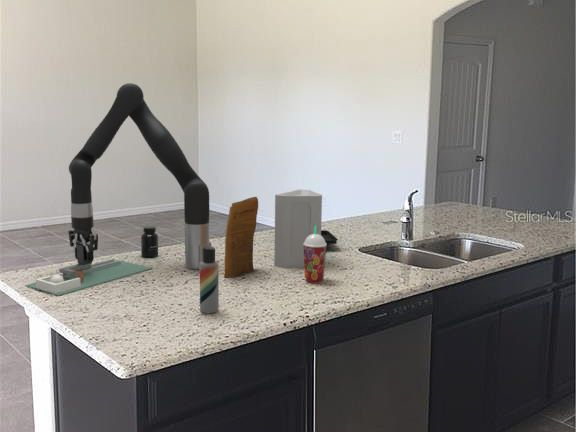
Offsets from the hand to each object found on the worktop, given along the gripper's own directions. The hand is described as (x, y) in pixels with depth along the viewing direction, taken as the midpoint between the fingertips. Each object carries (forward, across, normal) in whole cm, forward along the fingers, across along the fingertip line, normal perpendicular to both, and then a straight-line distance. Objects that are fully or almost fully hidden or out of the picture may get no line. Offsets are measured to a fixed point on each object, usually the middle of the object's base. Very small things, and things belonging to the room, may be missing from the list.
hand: (84, 259), depth 227 cm
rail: (+5, 0, -1) cm, 5 cm away
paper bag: (+5, -56, -60) cm, 82 cm away
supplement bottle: (+5, 0, -32) cm, 32 cm away
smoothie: (+5, -72, -43) cm, 84 cm away
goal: (+5, -8, +17) cm, 19 cm away
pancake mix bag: (+5, -45, -35) cm, 57 cm away
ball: (+2, -8, +17) cm, 19 cm away
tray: (+5, -42, -88) cm, 98 cm away
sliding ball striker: (+4, -4, +4) cm, 7 cm away
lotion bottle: (+5, -63, +3) cm, 63 cm away
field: (+5, -6, +2) cm, 8 cm away
